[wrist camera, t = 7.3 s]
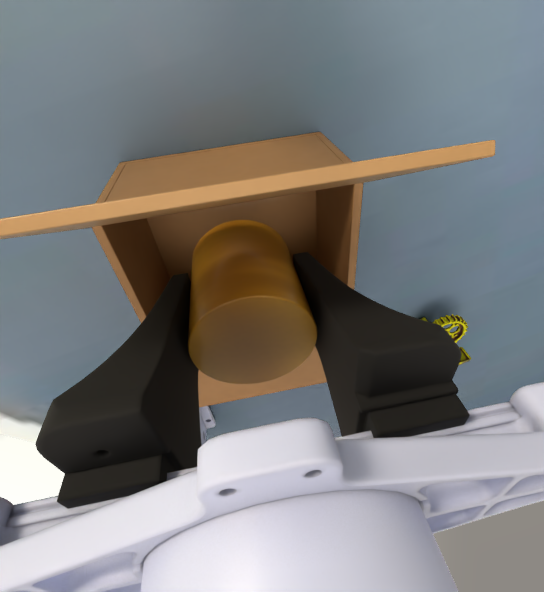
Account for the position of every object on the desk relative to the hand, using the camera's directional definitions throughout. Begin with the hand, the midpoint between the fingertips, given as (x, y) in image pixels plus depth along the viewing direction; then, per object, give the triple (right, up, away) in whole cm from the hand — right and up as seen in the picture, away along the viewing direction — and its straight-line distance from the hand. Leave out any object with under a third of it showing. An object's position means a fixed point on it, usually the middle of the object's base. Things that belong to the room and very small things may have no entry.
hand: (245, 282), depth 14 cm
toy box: (-1, +3, +8) cm, 8 cm away
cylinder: (0, +1, +1) cm, 1 cm away
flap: (0, +2, -5) cm, 5 cm away
